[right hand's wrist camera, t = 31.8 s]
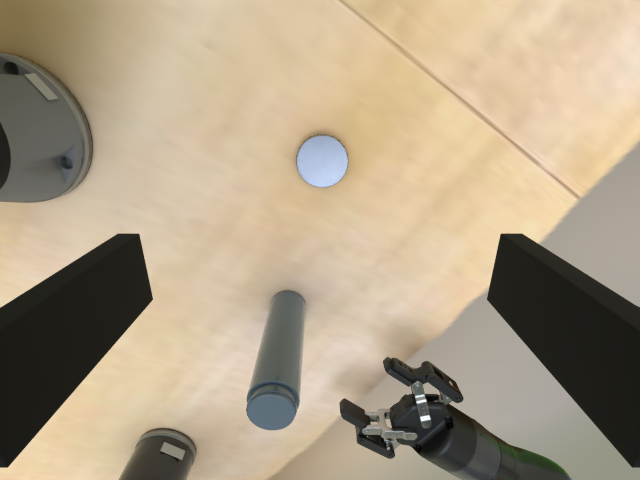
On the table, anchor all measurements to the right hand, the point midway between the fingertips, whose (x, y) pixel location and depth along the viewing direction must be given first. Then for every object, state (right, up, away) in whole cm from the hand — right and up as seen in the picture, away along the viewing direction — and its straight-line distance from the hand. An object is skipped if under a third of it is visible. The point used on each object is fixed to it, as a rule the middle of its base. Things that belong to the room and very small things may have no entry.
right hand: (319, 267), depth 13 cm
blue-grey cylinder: (-4, -8, +33) cm, 34 cm away
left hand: (+5, -17, +30) cm, 35 cm away
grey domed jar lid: (0, +10, +25) cm, 27 cm away
